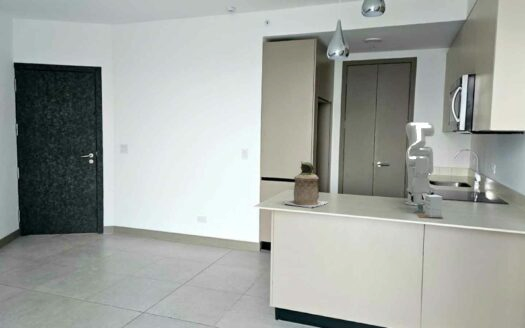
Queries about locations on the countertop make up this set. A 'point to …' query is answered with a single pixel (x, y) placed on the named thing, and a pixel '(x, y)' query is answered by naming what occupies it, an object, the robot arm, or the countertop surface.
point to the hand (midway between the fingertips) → (420, 202)
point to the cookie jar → (306, 188)
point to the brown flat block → (421, 213)
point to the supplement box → (433, 205)
